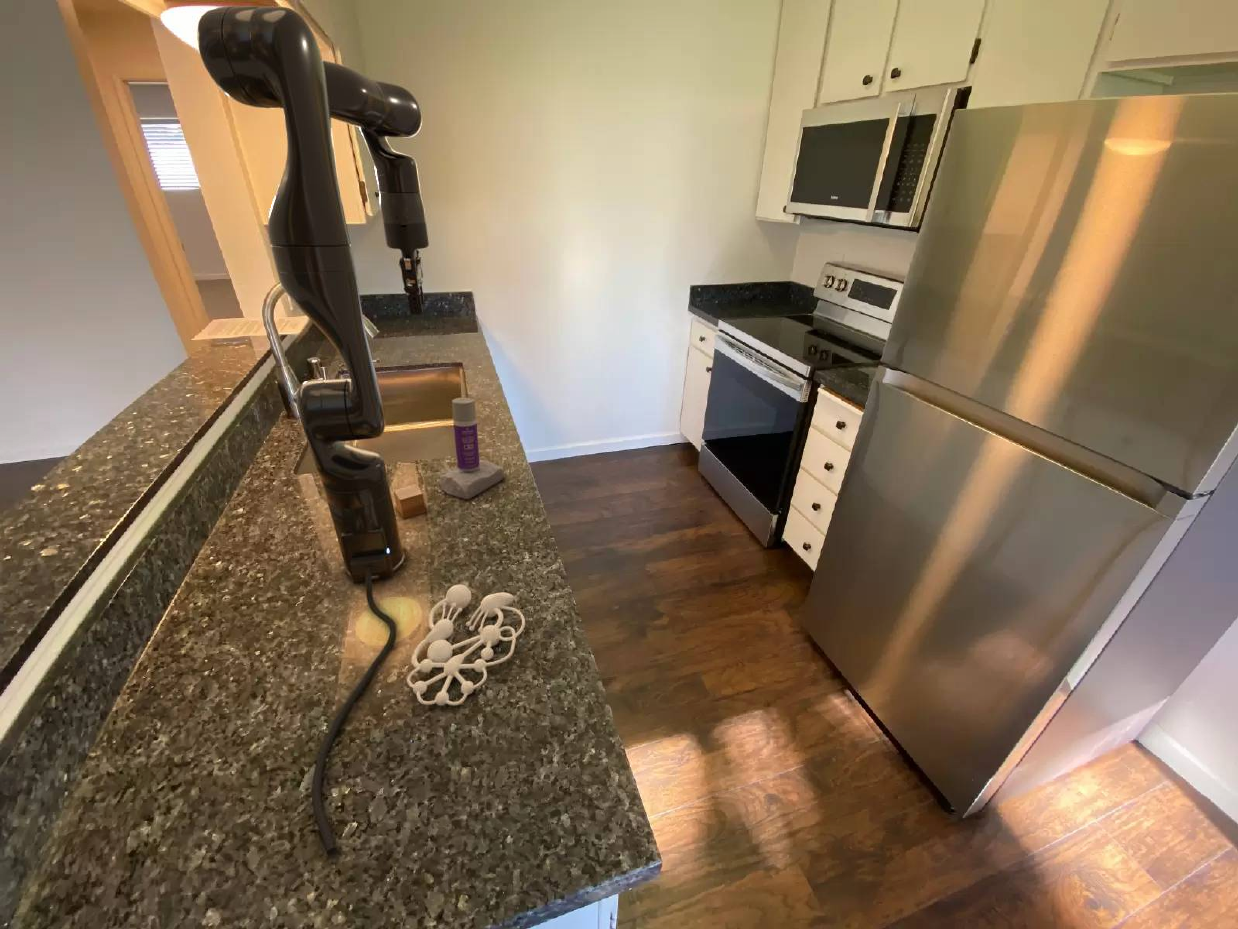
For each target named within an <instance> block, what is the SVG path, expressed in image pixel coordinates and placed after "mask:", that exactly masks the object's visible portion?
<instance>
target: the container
mask: <svg viewBox="0 0 1238 929" xmlns="http://www.w3.org/2000/svg"><path fill="white" fill-rule="evenodd" d="M451 404H452V405H451V407H452V422H453V435H454V445H455V447H454V448H455V457H456V468H458V470H460V471H474V470H477V469H478V468H479V467H480V464H479V460H480V452H479V438H478V437H479V436H478V423H477V412H476V402H475V398H472V397H457V398H454V399H452V400H451Z"/></svg>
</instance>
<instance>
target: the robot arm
mask: <svg viewBox="0 0 1238 929" xmlns="http://www.w3.org/2000/svg"><path fill="white" fill-rule="evenodd" d="M195 38H196V39H195V40H196V45H197V49H198V53H199V56H200V58H201V61H202V63H203V65H204V67H205V69H206V71H207V73H208V75H209V76H210V78H211V80H213V82H214V83H215V85H216V86H217V87H218V88H219V89H220V90H221V91H222V92H223V93H224V94H225V95H227V96H228V97H229V98H231V99H232V100H234V101H235V102H237V103H239V104H242V105H243V106H247V107H251V108H257V109H282V111H283V117H284V123H285V124H284V125H285V132H286V133H285V134H286V142H287V143H286V144H287V145H286V147H287V150H286V161H285V166H284V169H283V173H282V176H281V179H280V182H279V184H278V187H277V190H276V193H275V196H274V199H273V201H272V204H271V208H270V211H269V216H268V221H267V235H268V240H269V244H270V248H271V253H272V256H273V257H272V258H273V260H274V265H275V269H276V273H277V277H278V280H279V283H280V285H281V287H282V288H283V290H284V292H285V293H286V295H287V296H288V297H289V298H290V300H291V301H292V302H293V303H294V304H295V305H296V306H297V308H298V309H299V310H300V311H301V312H302V313H303V314H304V315H305V316H306V317H307V318H308V319H309V320H310V321H311V322H312V324H314V325H315V326H316V327H317V328H318V329H319V330H320V331H321V332H322V334H324V336H325V337H326V338H327V339H328V340H329V341H330V343H331V344H332V345H333V347H334V348H335V350H336V351H337V353H338V355H339V356H340V358H341V360H342V361H343V364H344V366H345V368H346V371H347V373H348V376H349V377H343V378H342V377H341V378H326V379H325V378H324V379H311V380H306V381H304V382H302V383H301V384H300V385H299V387H298V389H297V394H296V408H297V409H296V410H297V413H298V418H299V421H300V425H301V427H302V430H303V434H304V436H305V439H306V441H307V444H308V447H309V450H310V453H311V455H312V459H313V462H314V466H315V469H316V471H317V474H318V475H319V478H320V481H321V485H322V488H323V492H324V494H325V498H326V503H327V506H328V509H329V513H330V517H331V520H332V524H333V527H334V531H335V534H336V539H337V541H338V546H339V549H340V552H341V556H342V560H343V563H344V570H345V572H346V575H347V576H348V577H350V578H351V581H352V583H354V584H355V583H362V582H365V594H366V601H367V604H368V606H369V609H370V610H371V611H372V613H373V614H374V615H376V617H378V618H379V619H381V620H382V621H384V623H386V624H387V625H388V628H389V636H388V639H387V642H386V644H385V645H384V647H383V648H382V650H381V651H380V653H379V654H378V655H377V657H376V658H375V659H374V661H373V662H372V663H371V665H370V666H369V668H368V670H367V671H366V673H365V674H364V676H363V677H362V679H361V680H360V682H359V683H358V684H357V686H356V687H355V689H354V690H353V691H352V693H351V694H350V695H349V697H348V698H347V699H346V701H345V702H344V704H343V705H342V707H341V709H340V710H339V712H338V713H337V715H336V716H335V718H334V720H333V722H332V724H331V726H330V727H329V730H328V732H327V734H326V736H325V739H324V741H323V743H322V746H321V748H320V751H319V754H318V756H317V759H316V763H315V766H314V769H313V770H314V771H313V776H312V785H311V803H312V810H313V815H314V818H315V822H316V825H317V827H318V828H317V829H318V831H319V834H320V836H321V839H322V842H323V845H324V848H325V852H326V855H332V854H333V853H335V852H336V851H337V846H336V842H335V838H334V836H333V833H332V830H331V828H330V824H329V822H328V819H327V816H326V813H325V810H324V805H323V801H322V781H323V773H324V767H325V764H326V760H327V757H328V754H329V751H330V749H331V746H332V744H333V741H334V740H335V738H336V735H337V733H338V731H339V728H340V727H341V725H342V722H343V721H344V719H345V717H346V715H347V714H348V712H349V711H350V709H351V707H352V706H354V703H355V702H356V701H357V699H358V698H359V697H360V695H361V693H362V692H363V691H364V689H365V688H366V686H367V685H368V684H369V682H370V680H371V678H372V677H373V676H374V674H375V672H376V671H377V669H378V668H379V666H380V665H381V663H382V662H383V660H385V658H386V656H387V655H388V653H389V652H390V651H391V649H392V647H393V646H394V643H395V640H396V636H397V626H396V622H395V621H394V619H392V618H391V617H390V616H388V615H387V614H386V613H384V612H383V611H382V610H380V608H378V606H377V604H376V602H375V600H374V595H373V583H372V581H376V580H380V579H381V580H382V579H389V578H392V577H394V573H395V572H397V570H399V569H400V568H401V567H402V566H403V564H404V562H405V559H406V556H405V551H404V548H403V544H402V540H401V535H400V530H399V526H398V521H397V517H396V512H395V506H394V501H393V497H392V492H391V487H390V482H389V478H388V473H387V468H386V462H385V460H384V458H383V457H382V454H380V453H378V452H376V451H374V450H372V449H368V448H364V447H359V446H356V445H353V444H350V443H349V442H353V441H364V440H373V439H378V438H379V437H381V436H382V435H383V433H384V431H385V428H386V413H385V412H386V411H385V406H384V401H383V400H384V399H383V396H382V392H381V388H380V384H379V380H378V376H377V372H376V369H375V364H374V360H373V356H372V352H371V347H370V344H369V340H368V336H367V331H366V326H365V320H364V314H363V308H362V302H361V295H360V289H359V282H358V275H357V270H356V264H355V259H354V254H353V249H352V245H351V244H352V242H351V238H350V234H349V230H348V225H347V221H346V214H345V210H344V205H343V199H342V194H341V188H340V183H339V182H340V181H339V177H338V170H337V162H336V153H335V145H334V136H333V126H332V119H334V120H336V121H339V122H343V123H345V124H348V125H351V126H353V127H357V128H359V130H360V133H361V135H362V137H363V139H364V142H365V145H366V147H367V150H368V152H369V154H370V158H371V160H372V163H373V165H374V170H375V176H376V181H377V189H378V192H379V193H378V194H379V208H380V215H381V221H382V225H383V226H382V227H383V232H384V237H385V244H386V246H387V247H388V248H389V249H393V250H400V252H401V256H400V257H399V258H398V266H399V269H400V274H401V281H402V284H403V291H404V293H405V294H406V295H407V301H408V308H409V312H410V314H411V315H422V314H423V305H424V304H425V298H424V292H423V291H424V290H423V283H424V282H423V281H424V280H423V277H424V271H423V259H422V256H420V251H419V250H422V249H427V248H428V247H429V245H430V242H429V233H428V226H427V220H426V212H425V206H424V202H423V198H422V193H421V185H420V178H419V171H418V165H417V161H416V159H415V158H414V157H412V156H411V155H408V154H405V153H401V152H399V151H395V150H394V149H393V148H392V147H391V145H390V143H389V142H388V139H387V138H401V139H402V138H403V139H404V138H405V139H407V138H413V137H415V136H416V135H417V134H418V133H419V131H420V130H421V128H422V124H423V114H422V110H421V107H420V104H419V102H418V101H417V99H416V97H415V96H414V95H413V93H411V91H410V90H408V89H407V88H405V87H403V86H400V85H397V84H393V83H389V82H385V81H380V80H375V79H372V78H370V77H368V76H367V75H365V74H363V73H361V72H360V71H357V70H355V69H353V68H351V67H348V66H346V65H343V64H340V63H336V62H332V61H328V60H323V57H322V53H321V50H320V48H319V45H318V42H317V39H316V37H315V35H314V33H313V31H312V29H311V27H310V25H309V24H308V22H307V21H306V20H305V18H304V17H303V16H302V15H301V14H300V13H299V12H297V11H296V10H294V9H292V8H291V7H290V8H289V7H286V6H285V7H284V6H278V5H277V6H276V5H275V6H271V5H269V6H268V5H267V6H266V5H265V6H264V5H263V6H262V5H248V6H247V5H243V6H241V5H240V6H238V5H236V6H235V5H234V6H219V7H214V8H212V9H209V10H207V11H204V13H203V14H202V15H200V17H199V19H198V21H197V23H196V29H195Z"/></svg>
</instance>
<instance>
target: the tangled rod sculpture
mask: <svg viewBox="0 0 1238 929" xmlns="http://www.w3.org/2000/svg"><path fill="white" fill-rule="evenodd" d="M471 601H472V592H471V590H470V588H469V587H468V586H466V585H464V584H461V583H458V584H455V585H452V586H451V587H450V588H449V589H448V590H447V592H446V593H445V598H443V599H442V600H441V601H439V602H438V603H436V604H435V605H434V606H433V607H432V608H431V610H430V611H429V615H428V621H427V622H428V623H427V624H428V628H429V630H430V631H429V632H428V633H427V635H426V636H425V638H424V639H423V640H422V641H421V642H419V643H418V645H417V646H416V648H415V649H414V651H413V654H412V655H411V658H410V659H411V660H410V661H411V664H412V666H413V668H414V669H413V670H412V671H410V673H409V674H408V675H407V678H406V683H407V684H408V686H409V687H410V688H412V692H413V693H414V694H415V695H416V699H417V701H418V702H419V703H420V704H421V705H424V706H431V705H435V704H436V705H437V706H439V707H443V706H446V705H449V706H459V705H461V704H463V703H464V702H465V700H466V699H467V698H468V696H469V695H471V694H472V693H473V692H474V690H475V689H477V688H480V687H481V686H482V685H483V684H484V683H485V682H486V680H487V678H488V672H487V667H491V666H492V667H493V666H496V665H499V664H502V663H504V662H506V661H507V660H509V659H510V658H511V657H512V656H513V655H514V652H515V648H516V640H517V638H518V637H519V636H520V635H521V634H522V632H523V631H524V629H525V626H526V620H525V616H524V615H523V613H522V612H521V610H519V609H518V608H515V607H511V606H508V605H510V604H511V603H513V601H514V595H513V594H511V593H509V592H503V591H502V592H496V593H491V594H488V595H486V596H484V597H483V599H482V600H481V602H480V605H479V606H478V608H477V609H476V610H475V612H474V613H473V615H472V616H471V617H470V619H469V621H466V623H465V626H466V627H468V630H469V631H470V632H473V631H475V628H476V625H477V624H478V623H479V621H480V618H481V617H482V616H483V617H482V619H481V622H480V627H478V629H477V632H478V633H479V635H476V636H473V637H471V638H468V639H466V640H463V641H460V642H458V643H455V644H451V643H450V642H449V641H447V640H446V639H448V638H449V637H451V635H452V634H453V632H454V624H453V623H454V621H455V619H456V617H457V615H458V614H459V613H461V612H463V609H465V608H467V606H468V605H469V604H470V603H471ZM447 605H448V607H449V608H450V609H449V610H448V613H447V616H446V618H445V615H446V606H447ZM441 607H442V615H441V618H440V619H439V620H438V621H437V622H436V623H435V624H434V621H435V620H434V618H435V614H436V612H437V611H438V610H439V609H440V608H441ZM453 610H457V611H456V612H455V613H454V615H453V617H451V618H452V619H451V620H450V616H451V615H452V614H451V613H452V611H453ZM502 610H506V611H512V612H514V613H516V614H517V615H518V616H519V617H520V619H521V626H520V628H519V630H518V631H517V632H516V630H515V629H514V628H513V627H512V626H509V625H507V626H502V624H503V622H504V613H503V612H502ZM478 613H479V614H478ZM477 614H478V615H477ZM495 616H498V619H497V621H496V623H495V624H494V625H493V624H489V625H486V626H484V623H485V621H486V619H487V617H488V618H493V617H495ZM475 618H476V619H475ZM473 621H474V622H473ZM472 623H473V624H472ZM506 630H507V631H511V634H512V636H510V637H504V636H502V633H501V632H503V631H506ZM476 641H477V642H476ZM500 641H503V642H511V646H510V650H509V653H508V654H507V655H506V656H504V657H502V658H500V659H498V660H495V661H489V660H492V658H493V657H494V650H493V649H492V647H494V646H496V645H498V643H500ZM474 642H476V643H475V644H473V645H472V646H471V647H470V648H468V649H467V650H466V651H465V652H463V653H460V654H457V655H454V656H453V652H454V650H456V649H458V648H461V647H464V646H466V645H469V644H471V643H474ZM427 644H428V645H429V644H430V645H429V646H428V648H427V651H426V657H427V658H424V659H423V660H421V661H420V663H419V662H418V657H419V655H420V653H421V651H422V649H423V648H424V647H425V646H426V645H427ZM481 645H483V646H485V647H484V648H482V650H481V651H480V657H481V658H478V659H476V660H475V661H474V662H473V663H464V660H465V658H466V657H467V656H468V655H470V654H471V653H473V652H474V651H475V650H477V649H478V648H479V647H480V646H481ZM486 661H489V662H486ZM434 668H443V672H441V673H440V674H438V675H435V676H434V677H432V678H430V679H428V680H425V681H424V680H418V681H416V682H415V683H414V684H413V683H412V681H411V679H412V677H413V675H414V674H415V673H418V671H421V672H422V673H429V672H431V670H432V669H434ZM470 669H473V670H474V671H475V672H477V673H482V674H483V677H482V679H481V680H480V681H479V682H478V683H477V684H474V683H473V681H470V680H466V679H465V678H464V676H462V675H461V673H460V670H470ZM454 677H455V679H457V680H458V682H460V684H461V686H460V692H461V693H462V694H463V696H462V697H461V699H459V700H458V701H451V700H450V695H449V693H448V690H449V687H450V685H451V682H452V680H453V678H454ZM444 678H446V679H445V682H444V684H443V686H442V687H441V690H440V691H439V692H438V693H437V694H436V695H435V697H434V700H429V701H428V700H424V699H423V698H422V697H421V695H424V694H425V693H426V691H427V690H428V686H430V685H432V684H434V683H436V682H438V681H439V680H442V679H444Z"/></svg>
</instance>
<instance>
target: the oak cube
mask: <svg viewBox="0 0 1238 929" xmlns="http://www.w3.org/2000/svg"><path fill="white" fill-rule="evenodd" d="M392 492H393V496H394V500H395V505H396V509H397V511H398V512H399V514H400V515H401V517H402V519H403V520H405V519H408V518H411V517H414V516H418V515H421V514H424V513H426V512H427V510H426V504H425V499H424V493H423V492H422V490H421V489H420V488H419V487H418V485H417V484H416V483H415V484H414V483H413V484H411V485H408V486H404V487H400V488H397V489H393V491H392Z"/></svg>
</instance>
